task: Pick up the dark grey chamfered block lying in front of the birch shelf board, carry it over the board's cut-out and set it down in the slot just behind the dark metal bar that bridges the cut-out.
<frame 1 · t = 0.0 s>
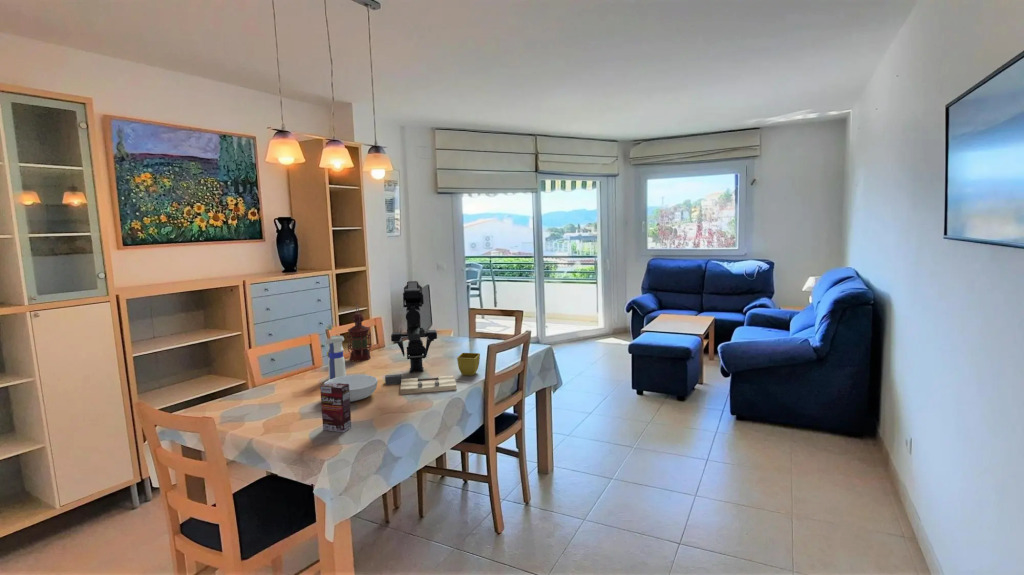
hand: (415, 355, 217), 15 cm above the table, tool pointing down, fingers open, 9 cm apart
lantern: (360, 359, 270), on the table
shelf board: (428, 386, 222), on the table
water bottle: (337, 378, 236), on the table
serving bowl: (351, 398, 210), on the table
flower pot: (469, 374, 239), on the table
supplement box: (337, 429, 178), on the table
dark grey chamfered block: (393, 383, 228), on the table
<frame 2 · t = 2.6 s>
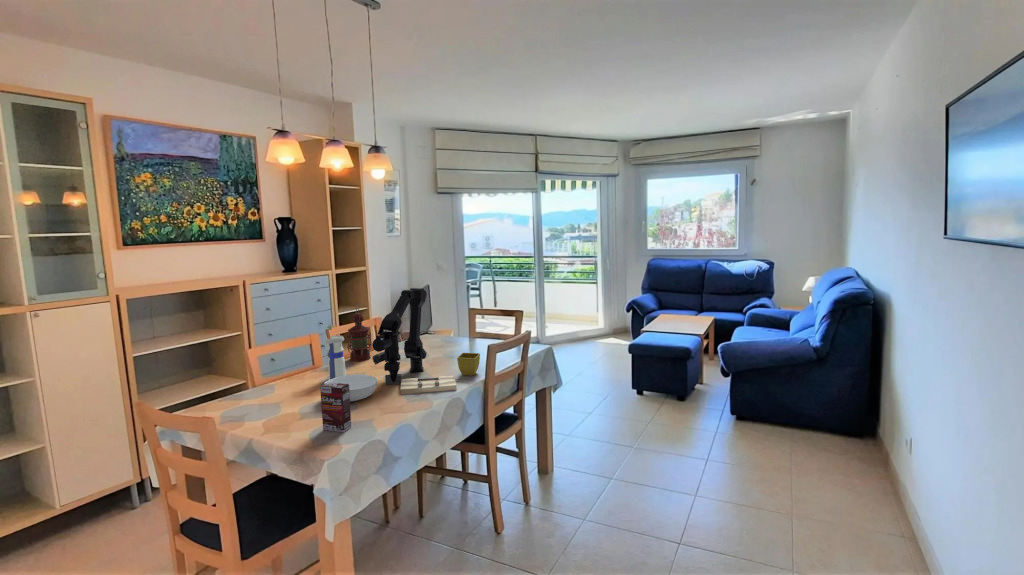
hand: (393, 380, 228), 1 cm above the table, tool pointing down, fingers closed on dark grey chamfered block, 3 cm apart
dark grey chamfered block: (393, 382, 228), on the table, touching gripper
everything else where it was.
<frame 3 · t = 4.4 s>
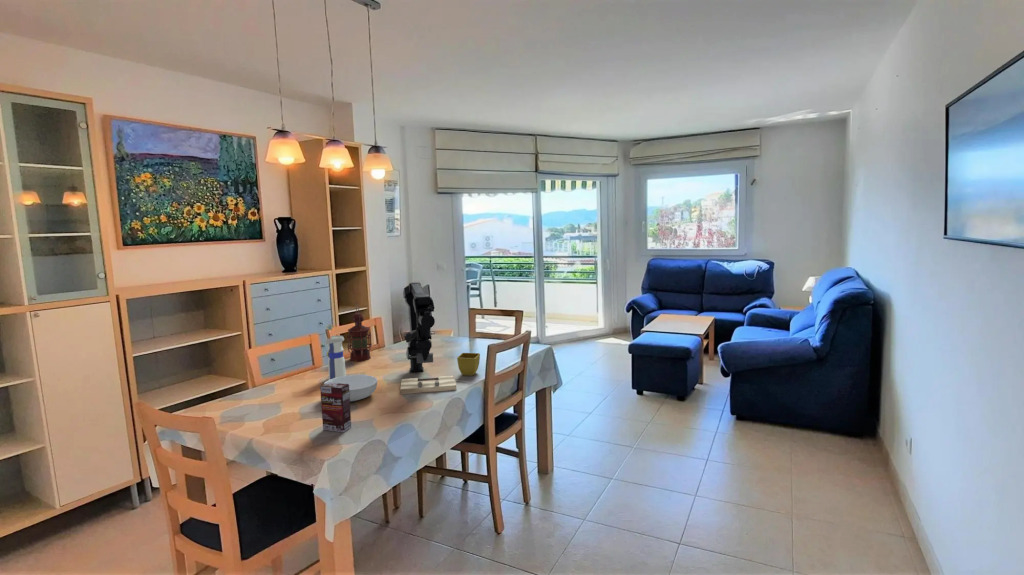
hand: (425, 359, 224), 11 cm above the table, tool pointing down, fingers closed on dark grey chamfered block, 3 cm apart
dark grey chamfered block: (425, 361, 224), point 10 cm above the table, touching gripper
everything else where it was.
when the fingers open (3 cm above the table, at t = 6.2 s): dark grey chamfered block drops 2 cm, resting in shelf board.
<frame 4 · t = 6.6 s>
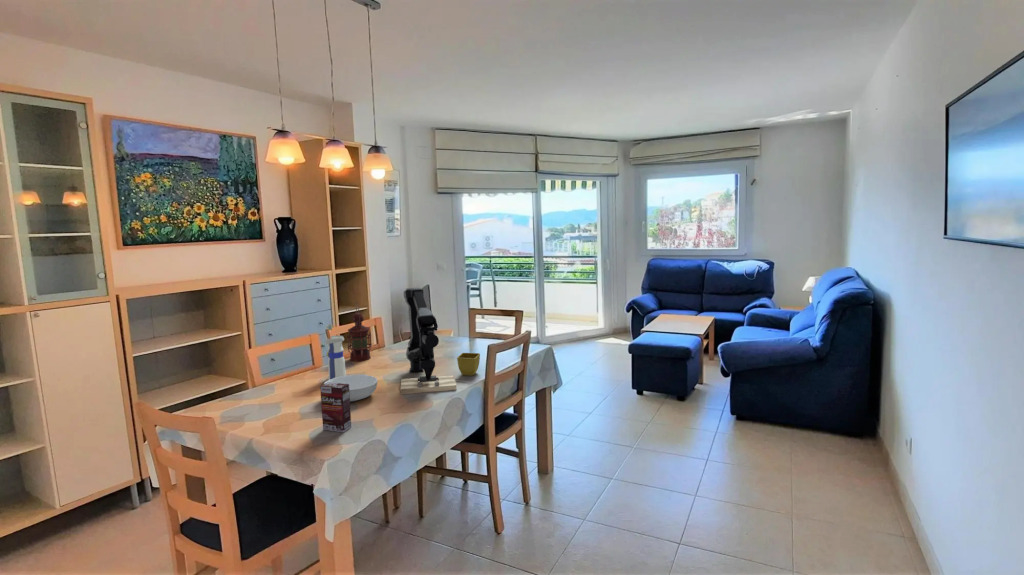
hand: (428, 377, 225), 3 cm above the table, tool pointing down, fingers open, 7 cm apart
dark grey chamfered block: (428, 384, 225), resting in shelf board
everything else where it was.
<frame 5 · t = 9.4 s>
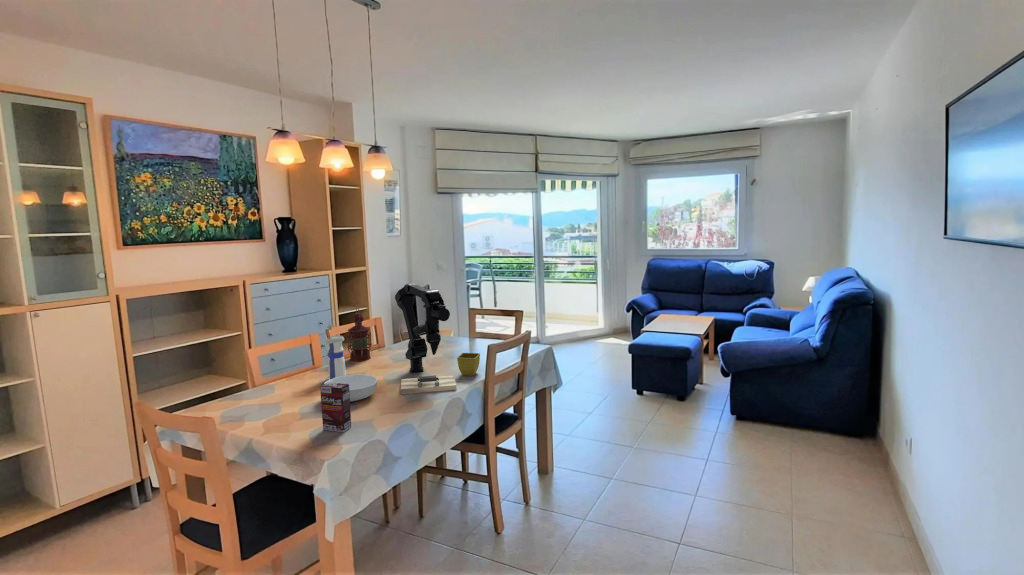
hand: (433, 352, 233), 12 cm above the table, tool pointing down, fingers open, 9 cm apart
nothing on the table moved.
at the end: dark grey chamfered block inside the target area on the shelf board (0.0 cm from its centre), point 0.0 cm above the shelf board's base; the gripper is holding nothing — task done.
